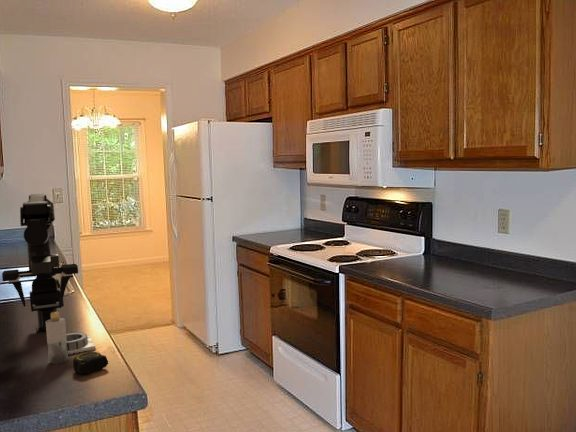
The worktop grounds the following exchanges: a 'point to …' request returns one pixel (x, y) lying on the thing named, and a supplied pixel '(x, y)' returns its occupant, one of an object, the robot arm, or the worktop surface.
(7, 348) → the worktop surface
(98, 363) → the tape measure
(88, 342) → the socket flange
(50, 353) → the gold-capped glass bottle
